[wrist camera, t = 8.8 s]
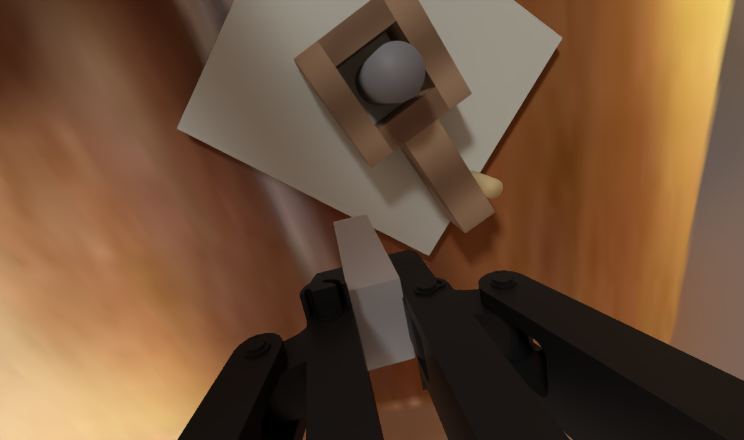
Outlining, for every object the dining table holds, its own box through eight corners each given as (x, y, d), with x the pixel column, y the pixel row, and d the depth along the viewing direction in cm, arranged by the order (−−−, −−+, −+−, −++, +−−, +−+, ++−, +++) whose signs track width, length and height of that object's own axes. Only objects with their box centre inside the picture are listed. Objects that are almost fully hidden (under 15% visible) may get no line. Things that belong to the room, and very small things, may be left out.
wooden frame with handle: (296, 65, 30) (293, 58, 26) (392, -8, 29) (404, -26, 25) (421, 240, 35) (434, 255, 31) (503, 180, 35) (526, 189, 31)
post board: (181, 127, 31) (131, 134, 22) (306, -149, 27) (302, -267, 19) (428, 253, 37) (463, 295, 29) (557, 43, 34) (641, 20, 25)
